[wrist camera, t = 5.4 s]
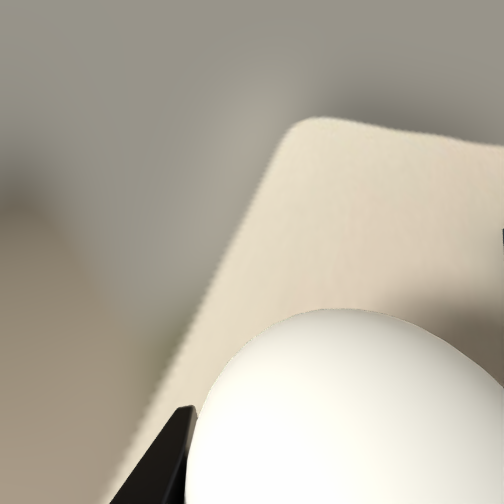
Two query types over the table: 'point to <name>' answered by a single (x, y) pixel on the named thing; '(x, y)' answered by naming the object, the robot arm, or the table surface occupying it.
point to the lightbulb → (348, 418)
